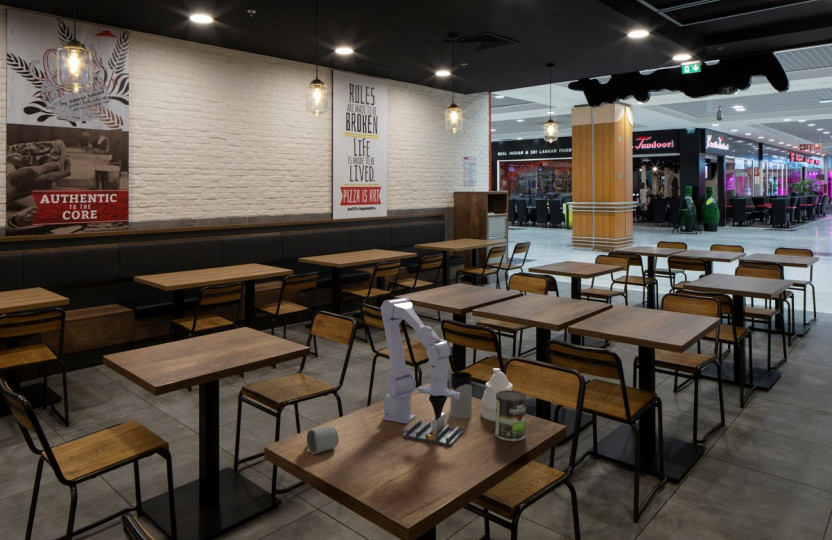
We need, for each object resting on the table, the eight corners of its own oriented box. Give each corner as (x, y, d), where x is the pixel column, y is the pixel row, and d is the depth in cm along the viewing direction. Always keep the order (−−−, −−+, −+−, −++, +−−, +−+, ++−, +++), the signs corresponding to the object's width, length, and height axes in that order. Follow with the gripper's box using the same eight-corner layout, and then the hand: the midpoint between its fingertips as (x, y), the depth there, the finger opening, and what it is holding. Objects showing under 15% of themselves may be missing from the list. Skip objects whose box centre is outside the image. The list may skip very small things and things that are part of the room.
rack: (402, 437, 194) (402, 430, 193) (417, 424, 205) (417, 417, 204) (450, 446, 187) (450, 439, 186) (463, 433, 197) (463, 426, 197)
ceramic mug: (340, 450, 183) (339, 427, 183) (317, 457, 178) (316, 434, 178) (323, 440, 192) (323, 418, 191) (301, 446, 187) (300, 423, 186)
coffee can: (531, 437, 194) (533, 397, 192) (506, 443, 189) (507, 402, 187) (513, 426, 203) (514, 388, 201) (488, 432, 198) (489, 392, 196)
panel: (432, 436, 192) (432, 419, 191) (440, 429, 198) (440, 412, 197) (436, 437, 191) (436, 420, 190) (444, 429, 198) (444, 413, 197)
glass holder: (455, 419, 209) (455, 379, 207) (439, 406, 222) (440, 368, 221) (476, 416, 213) (477, 377, 211) (460, 403, 226) (460, 366, 224)
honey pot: (503, 424, 205) (505, 375, 203) (474, 415, 214) (474, 368, 211) (522, 414, 215) (523, 367, 213) (493, 405, 223) (494, 360, 221)
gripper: (413, 377, 192) (413, 416, 193) (454, 383, 186) (454, 424, 187) (422, 371, 198) (422, 409, 200) (462, 377, 192) (461, 416, 194)
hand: (438, 416), depth 194 cm, fingers closed
